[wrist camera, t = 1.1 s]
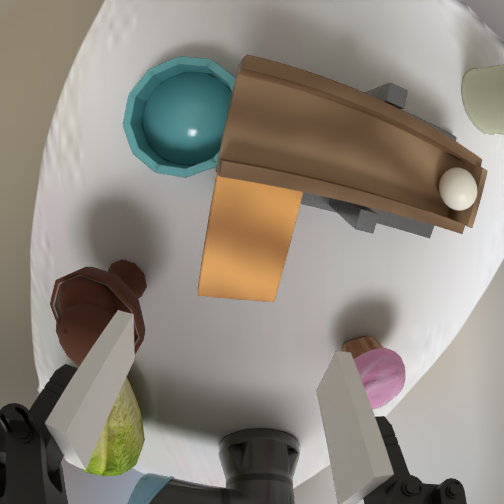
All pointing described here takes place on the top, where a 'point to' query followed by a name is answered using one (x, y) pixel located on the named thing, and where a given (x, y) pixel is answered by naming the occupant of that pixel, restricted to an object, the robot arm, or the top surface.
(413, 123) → the chute
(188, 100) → the teal bowl
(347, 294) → the top surface
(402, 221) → the chute stand
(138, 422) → the lettuce
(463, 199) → the ball
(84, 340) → the ice cream bowl
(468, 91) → the can
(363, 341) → the cupcake
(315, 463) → the top surface
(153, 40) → the top surface
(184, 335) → the top surface
